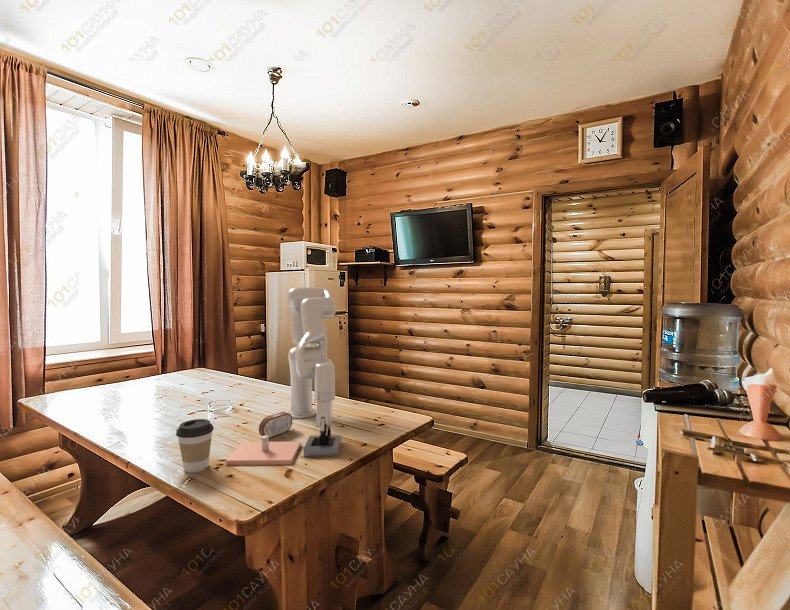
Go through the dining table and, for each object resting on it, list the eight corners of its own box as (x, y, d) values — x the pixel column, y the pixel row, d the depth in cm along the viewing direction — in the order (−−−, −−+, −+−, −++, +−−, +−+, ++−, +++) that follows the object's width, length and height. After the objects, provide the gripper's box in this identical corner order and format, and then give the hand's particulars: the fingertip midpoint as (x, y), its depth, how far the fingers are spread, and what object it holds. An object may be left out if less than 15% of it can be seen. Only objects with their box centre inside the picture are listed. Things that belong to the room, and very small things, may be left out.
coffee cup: (194, 458, 146) (193, 416, 145) (222, 462, 143) (221, 419, 142) (168, 473, 135) (167, 427, 134) (197, 478, 132) (196, 431, 131)
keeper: (242, 445, 157) (241, 427, 157) (301, 445, 158) (300, 427, 157) (225, 464, 141) (225, 444, 141) (291, 464, 142) (291, 443, 141)
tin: (288, 428, 175) (288, 408, 175) (293, 430, 173) (293, 410, 173) (258, 439, 163) (257, 418, 163) (263, 441, 161) (262, 420, 161)
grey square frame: (310, 443, 160) (309, 435, 159) (341, 443, 160) (341, 435, 160) (303, 456, 148) (303, 448, 147) (337, 456, 148) (337, 448, 148)
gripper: (318, 389, 166) (319, 433, 167) (310, 402, 149) (311, 451, 150) (337, 389, 166) (337, 433, 167) (331, 401, 149) (332, 451, 150)
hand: (325, 441), depth 159 cm, fingers open, 5 cm apart
